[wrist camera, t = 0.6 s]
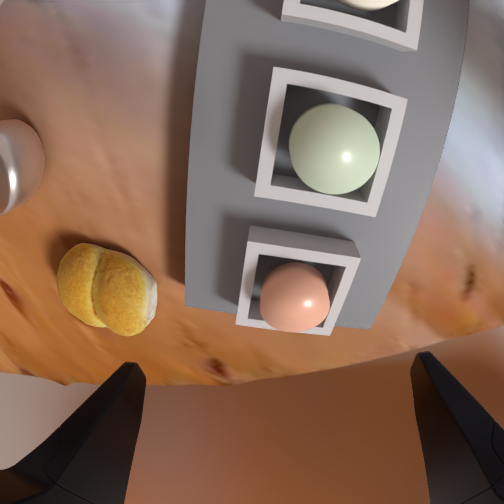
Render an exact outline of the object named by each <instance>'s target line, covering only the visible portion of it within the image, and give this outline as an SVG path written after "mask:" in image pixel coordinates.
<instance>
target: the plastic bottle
mask: <svg viewBox="0 0 504 504" xmlns="http://www.w3.org/2000/svg"><path fill="white" fill-rule="evenodd" d="M44 170H45V153H44V148H43V145H42V142H41V140H40V138H39V136H38V134H37V133H36V132H35V130H34V129H33V128H32V127H30V126H29V125H27V124H26V123H24V122H23V121H21V120H18V119H8V120H0V216H1V215H3V214H6V213H8V212H10V211H12V210H14V209H16V208H18V207H20V206H22V205H24V204H25V203H26V202H27V201H28V200H29V199H30V198H31V197H32V196H33V195H34V193H35V192H36V191H37V190H38V188H39V187H40V184H41V182H42V178H43V174H44Z"/></svg>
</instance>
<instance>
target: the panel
mask: <svg viewBox="0 0 504 504" xmlns="http://www.w3.org/2000/svg"><path fill="white" fill-rule="evenodd" d="M468 11H469V0H399V1H397V2H395V3H393V4H391V5H389V6H387V7H385V8H382V9H380V10H375V11H361V10H356V9H352V8H349V7H347V6H345V5H343V4H341V3H339V2H337V1H336V0H206V4H205V11H204V17H203V24H202V31H201V39H200V46H199V54H198V62H197V71H196V80H195V90H194V100H193V110H192V122H191V135H190V149H189V164H188V182H187V205H186V238H185V306H189V307H195V308H201V309H207V310H213V311H220V312H226V313H233V314H237V318H236V325H243V326H250V327H257V328H265V329H273V330H278V329H275V328H273V327H272V326H270V325H269V324H268V323H266V321H265V320H264V319H263V317H262V315H261V313H260V297H261V285H262V281H263V279H264V278H265V276H266V275H267V274H268V272H270V271H271V270H272V269H274V268H275V267H277V266H279V265H282V264H286V263H292V262H298V263H305V264H308V265H311V266H313V267H315V268H316V269H317V270H319V271H320V272H321V273H322V275H323V276H324V278H325V281H326V285H327V290H328V295H329V301H330V309H329V313H328V315H327V316H326V318H325V319H324V320H323V321H322V322H321V323H320V324H319V325H317V326H315V327H314V328H311V329H309V330H306V331H301V332H299V333H308V334H318V335H328V336H330V334H331V332H332V329H333V327H334V326H340V327H351V328H362V329H370V328H371V326H372V324H373V322H374V320H375V318H376V317H377V315H378V313H379V311H380V309H381V307H382V305H383V303H384V301H385V299H386V296H387V294H388V292H389V290H390V288H391V286H392V284H393V282H394V279H395V277H396V275H397V273H398V271H399V268H400V266H401V264H402V262H403V259H404V257H405V255H406V252H407V250H408V248H409V245H410V243H411V240H412V238H413V235H414V233H415V230H416V228H417V225H418V222H419V220H420V217H421V215H422V212H423V209H424V206H425V204H426V201H427V198H428V195H429V192H430V189H431V186H432V183H433V180H434V177H435V174H436V171H437V168H438V164H439V161H440V158H441V154H442V151H443V147H444V144H445V140H446V136H447V133H448V129H449V125H450V121H451V117H452V112H453V108H454V104H455V99H456V94H457V89H458V84H459V79H460V74H461V68H462V62H463V55H464V48H465V41H466V32H467V23H468ZM322 103H335V104H340V105H343V106H345V107H347V108H349V109H351V110H353V111H355V112H357V113H359V114H360V115H362V116H363V117H364V118H366V119H367V120H368V122H369V123H370V124H371V125H372V127H373V128H374V130H375V132H376V134H377V137H378V140H379V145H380V156H379V161H378V164H377V167H376V169H375V171H374V173H373V175H372V176H371V177H370V178H369V180H368V181H367V182H366V183H365V184H363V185H362V186H361V187H359V188H357V189H355V190H353V191H351V192H348V193H344V194H326V193H322V192H319V191H316V190H314V189H312V188H311V187H309V186H308V185H306V184H305V183H304V182H303V181H302V180H301V179H300V177H299V176H298V175H297V173H296V172H295V169H294V167H293V165H292V161H291V157H290V151H289V144H288V140H289V133H290V130H291V127H292V125H293V123H294V121H295V120H296V119H297V117H298V116H299V115H300V114H301V113H302V112H304V111H305V110H306V109H308V108H310V107H312V106H314V105H317V104H322Z"/></svg>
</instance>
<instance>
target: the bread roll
mask: <svg viewBox="0 0 504 504" xmlns="http://www.w3.org/2000/svg"><path fill="white" fill-rule="evenodd" d="M57 288H58V292H59V296H60V298H61V300H62V302H63V304H64V305H65V307H66V308H67V309H68V310H69V311H70V312H71V313H72V314H73V315H74V316H76V317H77V318H79V319H80V320H82V321H83V322H85V323H86V324H88V325H92V326H96V327H108V328H109V329H111V330H112V331H113V332H115V333H117V334H120V335H122V336H131V335H135V334H138V333H140V332H142V331H143V330H144V328H145V326H147V325H148V324H149V322H150V321H151V320H152V318H153V317H154V316H155V312H156V305H157V284H156V281H155V279H154V278H153V276H152V275H151V274H150V273H149V272H148V271H147V270H146V269H145V268H144V267H143V266H142V265H141V264H140V263H138V262H137V261H136V260H135V259H134V258H132V257H131V256H129V255H126V254H124V253H121V252H118V251H113V250H110V249H104V248H103V247H101V246H98V245H93V244H88V243H80V244H77V245H76V246H74V247H73V248H71V249H70V250H69V251H68V252H67V253H66V254H65V255H64V257H63V258H62V260H61V262H60V265H59V268H58V272H57Z"/></svg>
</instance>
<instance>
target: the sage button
mask: <svg viewBox="0 0 504 504" xmlns="http://www.w3.org/2000/svg"><path fill="white" fill-rule="evenodd" d="M288 144H289V151H290V157H291V161H292V165H293V167H294V169H295V172H296V173H297V175H298V176H299V177H300V179H301V180H302V181H303V182H304V183H305V184H306V185H308V186H309V187H311V188H312V189H314V190H316V191H319V192H322V193H326V194H344V193H348V192H351V191H353V190H355V189H357V188H359V187H361V186H362V185H363V184H365V183H366V182H367V181H368V180H369V178H370V177H371V176H372V175H373V173H374V171H375V169H376V167H377V164H378V161H379V156H380V145H379V140H378V137H377V134H376V132H375V130H374V128H373V127H372V125H371V124H370V123H369V122H368V120H367V119H366V118H364V117H363V116H362V115H360V114H359V113H357V112H355V111H353V110H351V109H349V108H347V107H345V106H343V105H340V104H335V103H322V104H317V105H314V106H312V107H310V108H308V109H306V110H305V111H304V112H302V113H301V114H300V115H299V116H298V117H297V119H296V120H295V121H294V123H293V125H292V127H291V130H290V133H289V140H288Z"/></svg>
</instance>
